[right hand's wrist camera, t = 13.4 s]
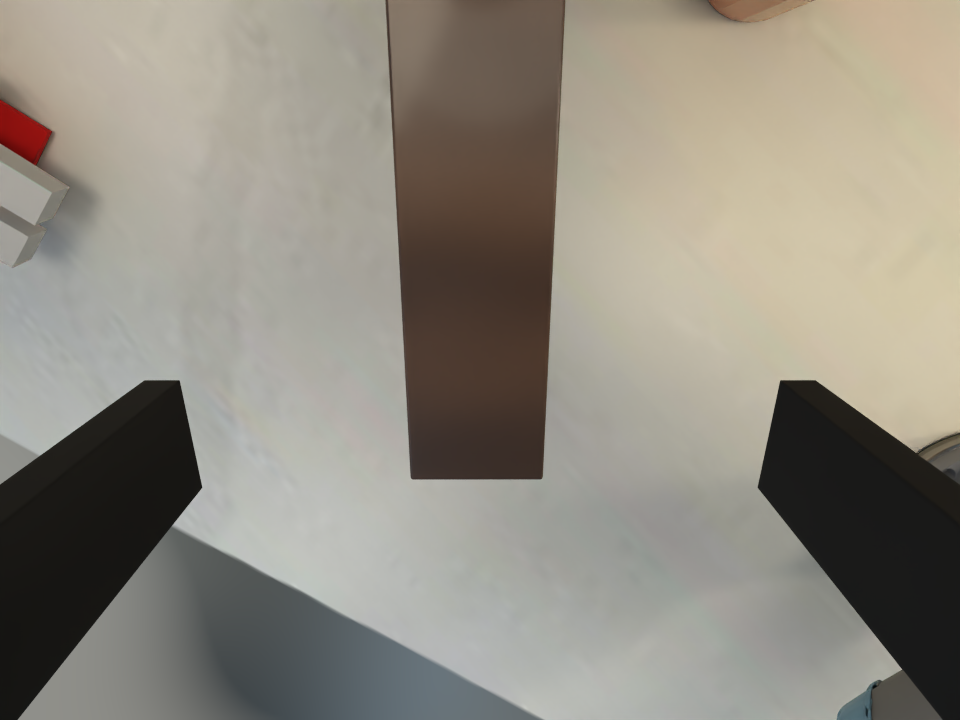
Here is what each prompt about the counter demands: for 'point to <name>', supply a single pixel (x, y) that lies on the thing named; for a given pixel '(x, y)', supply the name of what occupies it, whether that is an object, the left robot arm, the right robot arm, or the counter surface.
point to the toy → (24, 186)
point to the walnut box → (476, 227)
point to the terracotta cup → (755, 8)
